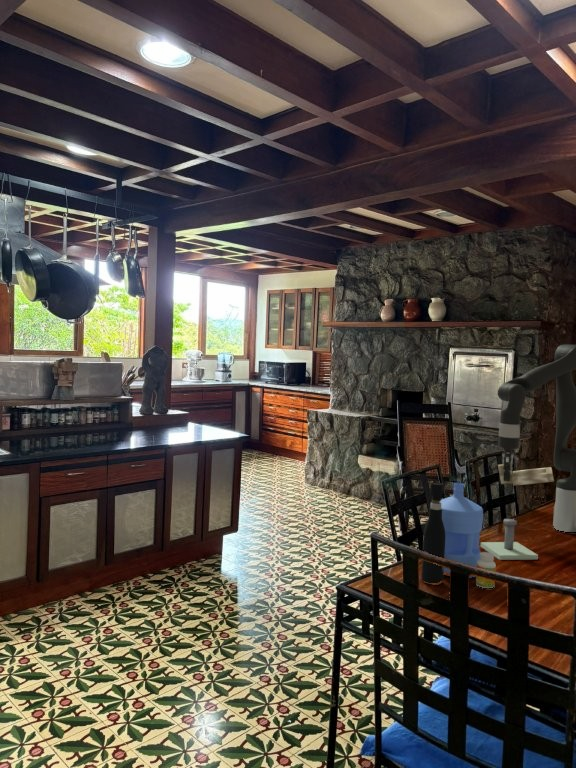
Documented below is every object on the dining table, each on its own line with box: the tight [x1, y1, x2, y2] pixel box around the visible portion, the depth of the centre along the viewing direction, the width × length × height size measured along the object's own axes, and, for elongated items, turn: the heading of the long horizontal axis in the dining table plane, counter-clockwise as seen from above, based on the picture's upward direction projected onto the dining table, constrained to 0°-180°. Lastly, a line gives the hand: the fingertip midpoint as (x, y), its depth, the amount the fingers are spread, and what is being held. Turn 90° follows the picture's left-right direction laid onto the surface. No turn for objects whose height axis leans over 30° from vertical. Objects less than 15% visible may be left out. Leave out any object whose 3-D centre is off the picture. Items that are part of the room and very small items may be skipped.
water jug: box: [440, 482, 484, 579], centre depth 187 cm, size 16×16×28 cm
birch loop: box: [497, 463, 555, 486], centre depth 223 cm, size 18×14×7 cm
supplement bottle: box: [475, 551, 497, 589], centre depth 175 cm, size 5×5×10 cm
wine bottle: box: [420, 481, 445, 583], centre depth 177 cm, size 6×6×30 cm
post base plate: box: [480, 518, 539, 561], centre depth 207 cm, size 14×14×12 cm
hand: (506, 479), depth 226 cm, fingers closed on birch loop, 3 cm apart
